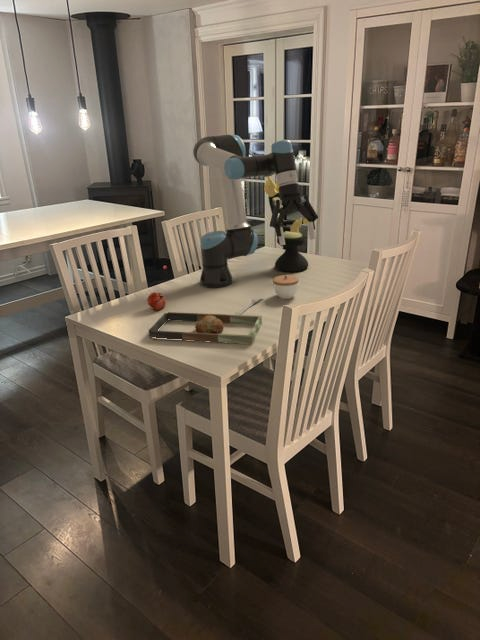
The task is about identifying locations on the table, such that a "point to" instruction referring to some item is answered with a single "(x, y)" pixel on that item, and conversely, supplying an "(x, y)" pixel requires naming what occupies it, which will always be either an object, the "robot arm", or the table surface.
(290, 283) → the lidded jar
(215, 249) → the robot arm
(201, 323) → the bread roll
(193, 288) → the table surface
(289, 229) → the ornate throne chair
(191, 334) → the multicolored rectangular frame
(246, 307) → the fork
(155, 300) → the pomegranate
